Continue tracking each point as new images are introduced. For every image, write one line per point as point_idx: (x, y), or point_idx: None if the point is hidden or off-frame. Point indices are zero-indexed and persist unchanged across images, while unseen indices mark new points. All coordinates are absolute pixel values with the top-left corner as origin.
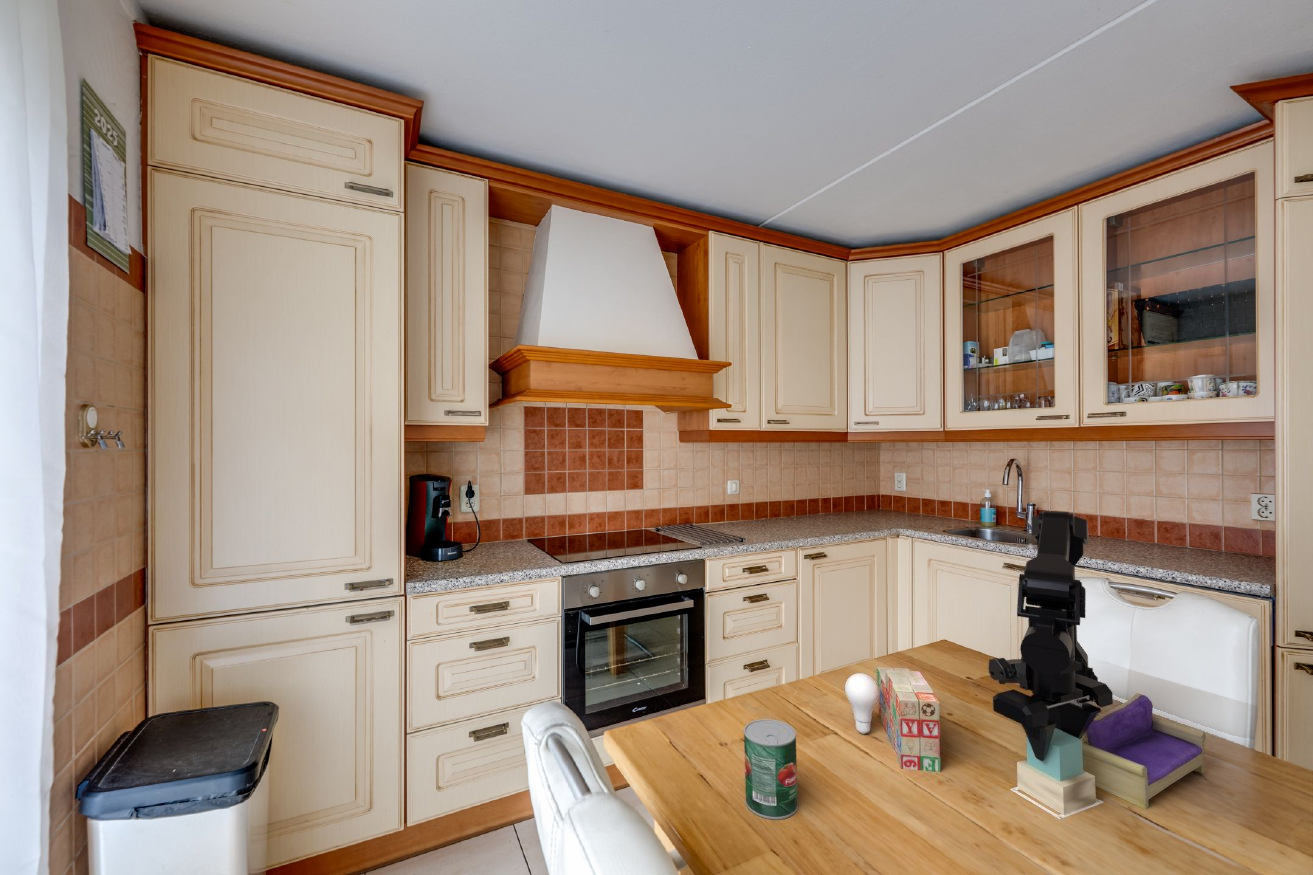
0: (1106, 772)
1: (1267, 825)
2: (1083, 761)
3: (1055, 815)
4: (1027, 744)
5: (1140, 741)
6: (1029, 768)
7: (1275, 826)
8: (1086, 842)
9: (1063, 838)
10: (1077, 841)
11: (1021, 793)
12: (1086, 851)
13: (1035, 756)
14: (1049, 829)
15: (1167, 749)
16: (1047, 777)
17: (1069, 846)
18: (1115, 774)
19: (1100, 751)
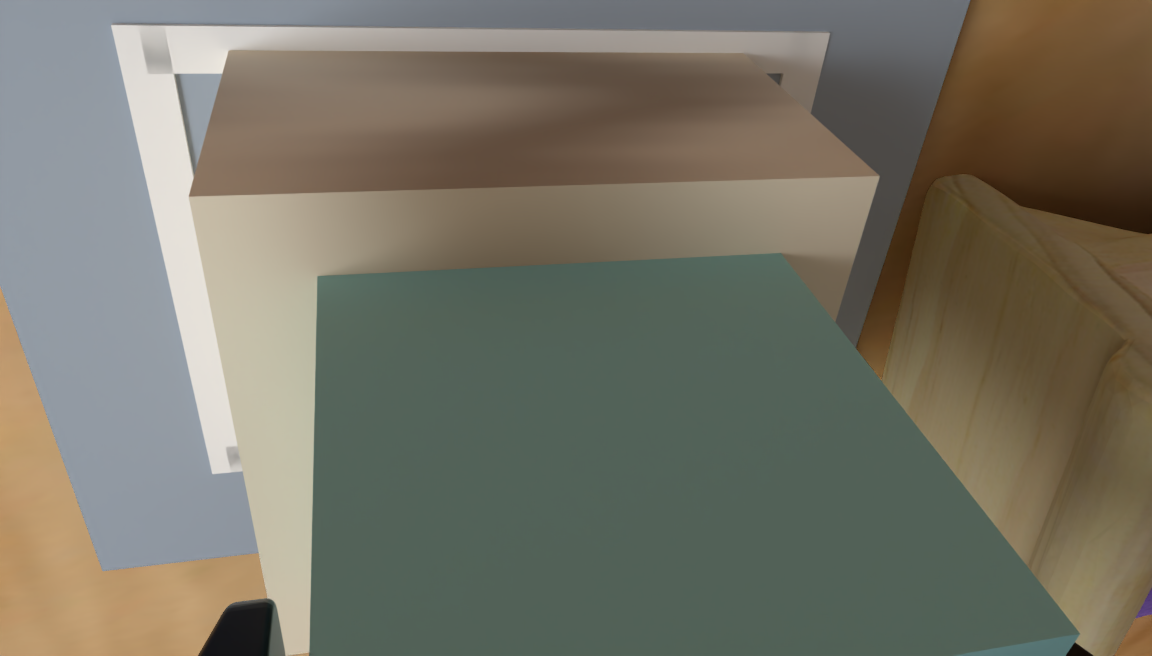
0: (993, 450)
1: (1126, 639)
2: (1055, 303)
3: (216, 440)
4: (315, 510)
5: None
6: (243, 355)
7: (1137, 646)
8: (204, 604)
9: (71, 561)
10: (149, 592)
11: (184, 135)
12: (120, 650)
13: (218, 622)
14: (46, 486)
15: None
16: (287, 526)
17: (42, 612)
18: (988, 507)
19: (1114, 575)
